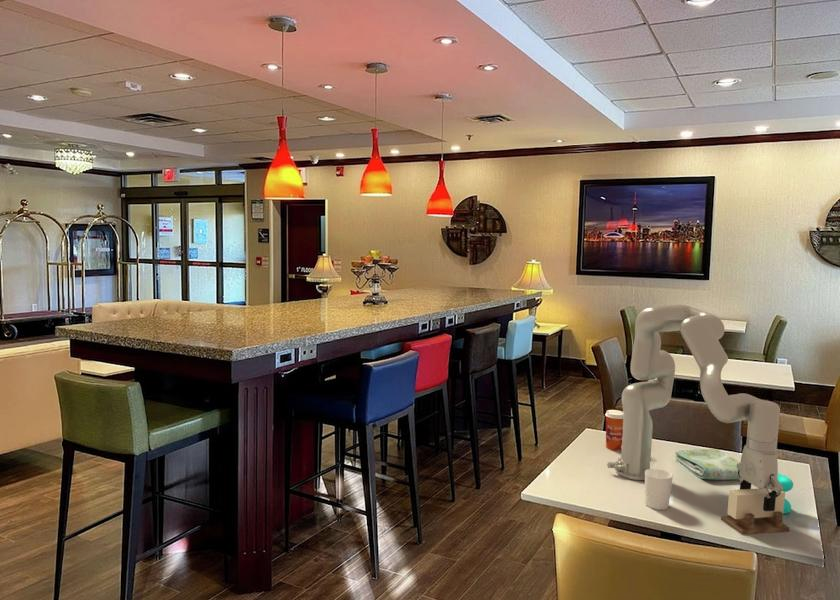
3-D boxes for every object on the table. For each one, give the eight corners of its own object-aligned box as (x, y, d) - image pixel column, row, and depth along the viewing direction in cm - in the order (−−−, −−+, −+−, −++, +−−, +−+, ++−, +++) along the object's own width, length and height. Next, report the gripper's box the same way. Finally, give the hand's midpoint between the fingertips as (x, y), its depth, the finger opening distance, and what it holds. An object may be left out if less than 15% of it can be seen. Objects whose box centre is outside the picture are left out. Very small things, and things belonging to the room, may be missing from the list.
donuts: (793, 486, 183) (755, 478, 188) (790, 519, 185) (752, 510, 190) (793, 475, 192) (756, 468, 197) (790, 506, 193) (753, 498, 198)
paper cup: (604, 450, 239) (606, 414, 237) (602, 443, 246) (604, 408, 245) (625, 452, 237) (628, 416, 236) (622, 445, 245) (625, 410, 243)
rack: (741, 534, 174) (743, 517, 174) (720, 519, 183) (722, 503, 182) (789, 530, 177) (791, 513, 176) (766, 516, 186) (768, 500, 185)
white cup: (667, 513, 187) (669, 480, 185) (640, 506, 191) (642, 474, 190) (672, 503, 193) (674, 472, 192) (646, 497, 197) (648, 466, 196)
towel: (718, 459, 233) (719, 446, 233) (754, 482, 212) (756, 467, 212) (671, 460, 231) (672, 446, 231) (703, 483, 210) (704, 468, 210)
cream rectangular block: (735, 519, 177) (737, 495, 176) (727, 513, 180) (729, 490, 179) (782, 516, 179) (785, 492, 179) (774, 510, 183) (776, 487, 182)
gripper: (729, 435, 185) (724, 491, 187) (771, 456, 168) (766, 517, 170) (752, 434, 186) (747, 489, 188) (796, 455, 169) (790, 516, 171)
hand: (756, 503), depth 179 cm, fingers open, 9 cm apart
